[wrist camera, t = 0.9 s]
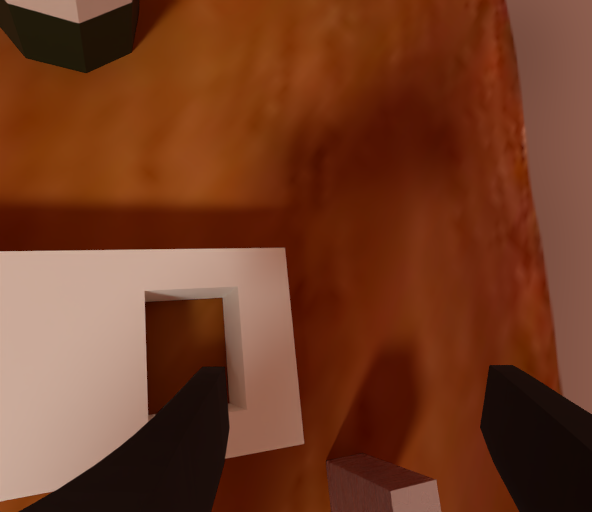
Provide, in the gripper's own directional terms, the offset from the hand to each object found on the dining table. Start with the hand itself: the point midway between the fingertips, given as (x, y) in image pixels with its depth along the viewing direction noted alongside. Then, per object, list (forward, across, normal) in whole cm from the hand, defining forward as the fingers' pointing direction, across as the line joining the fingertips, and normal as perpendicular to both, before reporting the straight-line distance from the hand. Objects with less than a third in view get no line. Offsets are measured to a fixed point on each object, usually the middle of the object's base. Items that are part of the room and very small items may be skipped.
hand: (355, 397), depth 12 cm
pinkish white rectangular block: (+10, -1, +14) cm, 17 cm away
